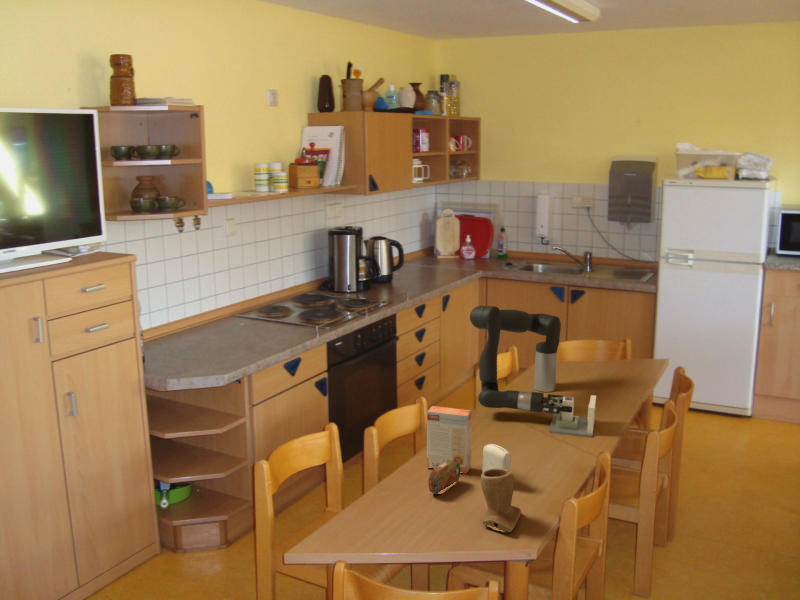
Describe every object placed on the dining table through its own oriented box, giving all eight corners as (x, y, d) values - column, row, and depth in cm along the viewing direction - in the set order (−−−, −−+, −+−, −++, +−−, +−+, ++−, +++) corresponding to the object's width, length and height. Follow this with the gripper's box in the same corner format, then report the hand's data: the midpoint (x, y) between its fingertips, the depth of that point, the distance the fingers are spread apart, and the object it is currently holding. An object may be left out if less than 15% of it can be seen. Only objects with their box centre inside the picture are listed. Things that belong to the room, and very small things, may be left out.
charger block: (562, 421, 302) (563, 395, 299) (572, 422, 301) (574, 396, 298) (561, 425, 298) (562, 398, 296) (571, 426, 297) (573, 399, 294)
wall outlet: (553, 415, 310) (554, 389, 307) (594, 420, 305) (596, 394, 303) (548, 432, 293) (550, 405, 290) (592, 437, 288) (594, 410, 286)
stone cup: (485, 505, 238) (487, 460, 234) (524, 512, 233) (526, 466, 230) (471, 529, 224) (472, 481, 221) (511, 537, 220) (513, 488, 216)
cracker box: (471, 467, 263) (472, 409, 259) (466, 475, 258) (468, 415, 253) (431, 461, 268) (432, 404, 263) (426, 469, 262) (426, 410, 257)
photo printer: (480, 477, 256) (481, 442, 253) (489, 474, 259) (490, 439, 256) (503, 489, 248) (504, 453, 245) (512, 485, 251) (513, 449, 248)
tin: (434, 499, 241) (435, 474, 240) (426, 496, 243) (426, 471, 241) (461, 481, 253) (461, 457, 251) (452, 479, 255) (453, 455, 253)
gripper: (528, 398, 294) (572, 402, 290) (533, 386, 308) (575, 390, 303) (527, 417, 296) (571, 421, 291) (532, 404, 309) (574, 408, 305)
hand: (573, 405), depth 297 cm, fingers open, 8 cm apart
